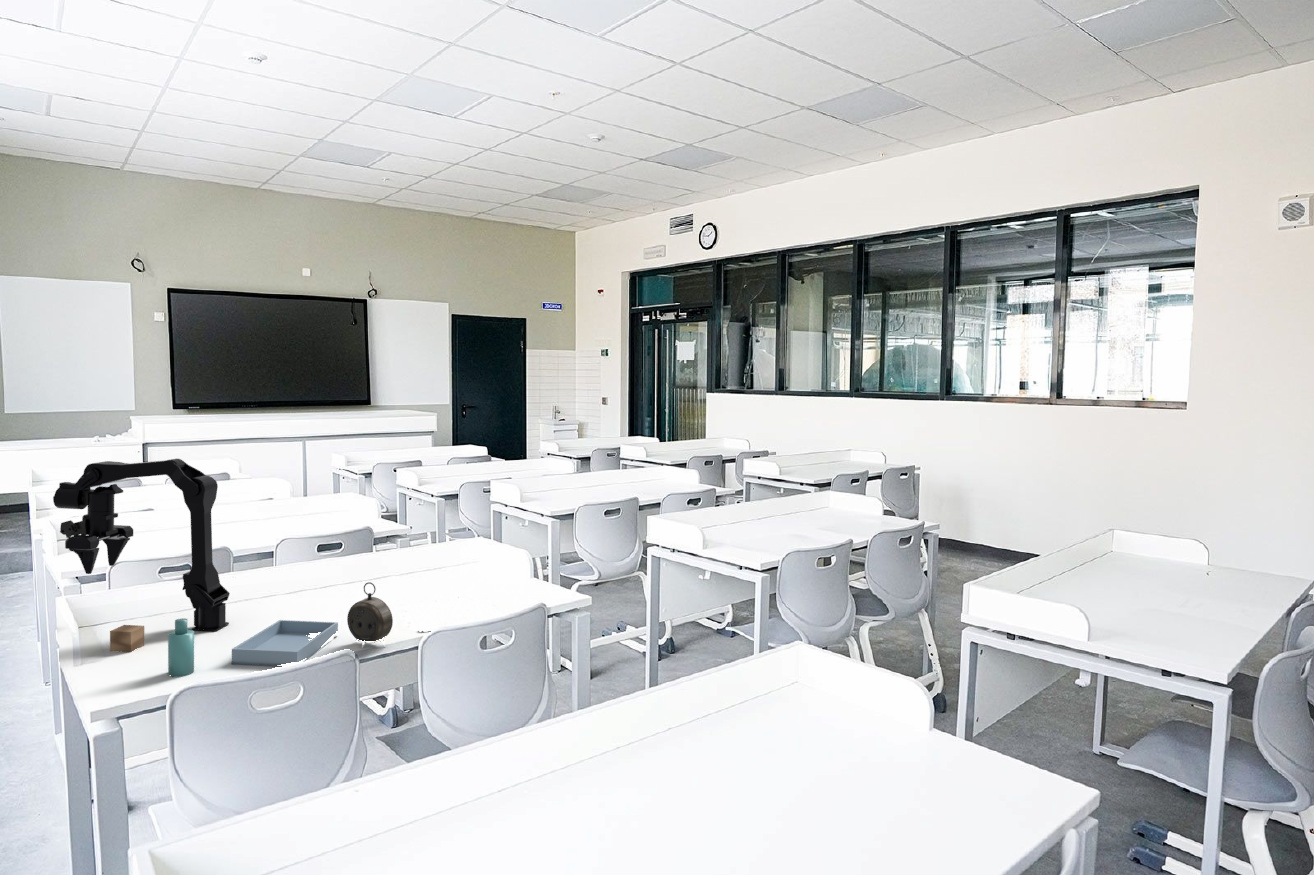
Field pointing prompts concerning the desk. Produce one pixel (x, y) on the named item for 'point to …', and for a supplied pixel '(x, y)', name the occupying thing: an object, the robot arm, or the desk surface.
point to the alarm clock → (370, 618)
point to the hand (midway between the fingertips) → (100, 569)
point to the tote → (283, 643)
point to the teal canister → (181, 650)
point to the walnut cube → (127, 638)
